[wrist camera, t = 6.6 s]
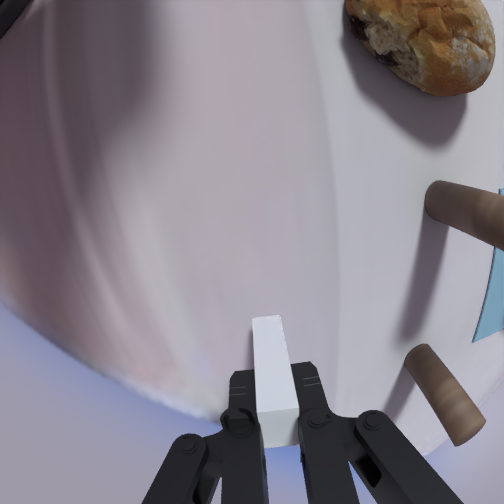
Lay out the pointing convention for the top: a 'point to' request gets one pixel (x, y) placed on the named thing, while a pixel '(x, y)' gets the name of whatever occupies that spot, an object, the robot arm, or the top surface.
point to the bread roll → (428, 41)
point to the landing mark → (493, 298)
